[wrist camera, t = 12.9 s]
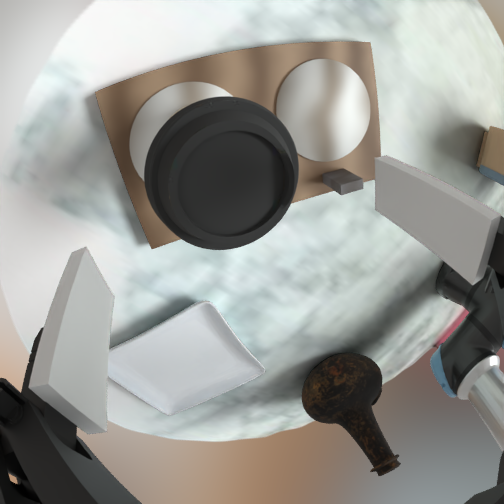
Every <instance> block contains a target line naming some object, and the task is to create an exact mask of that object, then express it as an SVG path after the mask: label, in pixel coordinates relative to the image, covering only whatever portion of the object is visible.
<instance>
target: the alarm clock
mask: <svg viewBox="0 0 504 504" xmlns="http://www.w3.org/2000/svg"><path fill="white" fill-rule="evenodd" d="M476 166H478V167H480V168H479V171H480V173H481V174H483V175H485V176H486V177H488V178H490V179H492V180H494V181H496V182H498V183H500V184H501V185H503V186H504V130H503V129H500V128H496V127H492V126H490V127H489V132H484V137H483V141H482V146H481V150H480V154H479V158H478V162H477V165H476Z"/></svg>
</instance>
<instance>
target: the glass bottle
mask: <svg viewBox="0 0 504 504" xmlns="http://www.w3.org/2000/svg"><path fill="white" fill-rule="evenodd" d="M381 387H382V374H381V371H380V368H379V367H378V365H377V364H376V363H375V362H374V361H373V360H371V359H370V358H368V357H366V356H363V355H360V354H356V353H342V354H337V355H334V356H332V357H330V358H328V359H326V360H324V361H323V362H321V363H320V364H319V365H318V366H316V367H315V368H314V369H313V371H312V372H311V373H310V374H309V376H308V377H307V379H306V381H305V383H304V386H303V390H302V403H303V407H304V409H305V411H306V412H307V414H308V415H309V416H310V417H311V418H313V419H314V420H316V421H319V422H322V423H328V424H333V423H336V424H339V425H341V426H342V427H343V428H345V429H346V430H347V431H348V433H349V434H350V435H351V436H352V437H353V438H354V440H355V441H356V442H357V444H358V445H359V446H360V447H361V449H362V450H363V452H364V453H365V455H366V456H367V457H368V459H369V460H370V462H371V463H372V465H373V467H374V468H373V469H372V470H371V471H370V472H373V471H376V472H377V473H378V476H382V475H384V474H386V473H388V472H390V471H392V470H394V469H395V468H397V467H398V466H399V465H400V464H401V463H399V462H398V461H397V458H398V457H399V455H395V456H394V454H393V453H392V451H391V449H390V447H389V445H388V443H387V442H386V440H385V438H384V436H383V434H382V432H381V430H380V428H379V426H378V423H377V421H376V419H375V416H374V414H373V411H372V406H371V405H374V404H375V403H376V402H377V400H378V398H379V397H380V395H381V392H382V388H381Z"/></svg>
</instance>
